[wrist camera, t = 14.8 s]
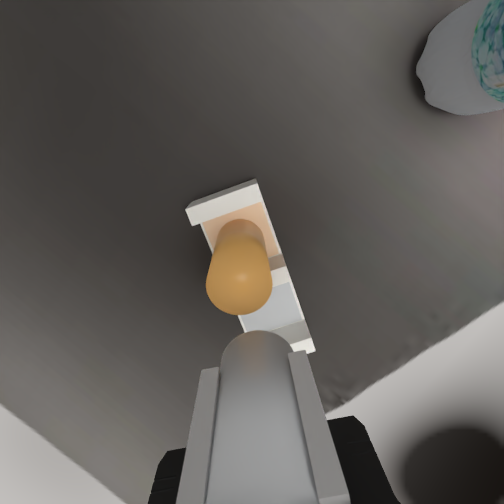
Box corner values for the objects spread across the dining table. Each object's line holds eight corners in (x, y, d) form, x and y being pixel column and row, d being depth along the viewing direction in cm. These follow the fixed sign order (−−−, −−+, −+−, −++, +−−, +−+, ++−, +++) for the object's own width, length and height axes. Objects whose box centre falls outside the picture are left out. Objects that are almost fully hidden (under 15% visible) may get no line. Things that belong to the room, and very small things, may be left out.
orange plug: (233, 273, 28) (230, 326, 20) (207, 235, 27) (192, 276, 19) (273, 248, 27) (284, 294, 19) (247, 209, 26) (249, 241, 18)
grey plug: (221, 397, 17) (201, 587, 10) (219, 330, 17) (195, 481, 9) (295, 396, 18) (332, 585, 10) (297, 329, 17) (340, 479, 9)
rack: (191, 201, 26) (185, 209, 23) (255, 178, 26) (257, 183, 23) (252, 348, 30) (252, 370, 27) (308, 330, 30) (315, 350, 27)
